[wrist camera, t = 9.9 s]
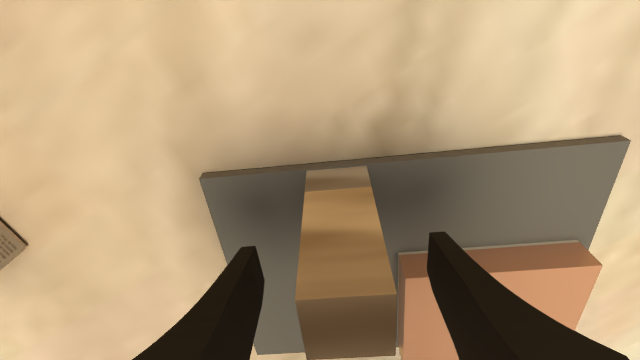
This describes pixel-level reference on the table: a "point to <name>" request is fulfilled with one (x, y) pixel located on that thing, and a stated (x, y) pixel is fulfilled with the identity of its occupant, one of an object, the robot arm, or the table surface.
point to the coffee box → (9, 245)
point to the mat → (417, 209)
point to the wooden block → (344, 269)
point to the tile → (511, 271)
